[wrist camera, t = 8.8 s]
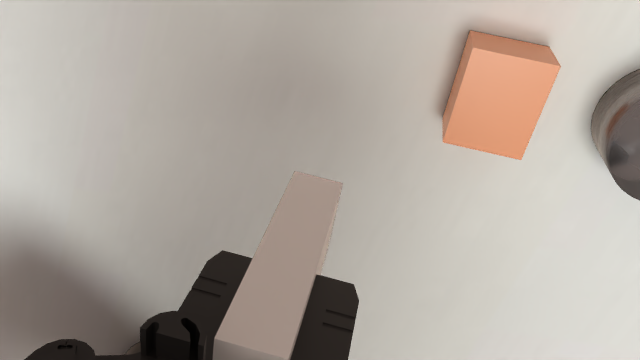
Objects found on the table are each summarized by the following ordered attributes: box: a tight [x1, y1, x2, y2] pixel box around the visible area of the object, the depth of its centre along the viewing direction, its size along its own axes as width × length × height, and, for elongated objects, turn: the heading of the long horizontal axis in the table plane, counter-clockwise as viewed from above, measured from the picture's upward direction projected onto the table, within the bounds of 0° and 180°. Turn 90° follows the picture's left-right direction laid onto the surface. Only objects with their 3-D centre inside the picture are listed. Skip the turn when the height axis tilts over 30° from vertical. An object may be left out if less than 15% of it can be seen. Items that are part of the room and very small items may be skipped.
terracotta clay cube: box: [443, 31, 561, 160], centre depth 26 cm, size 4×5×3 cm
